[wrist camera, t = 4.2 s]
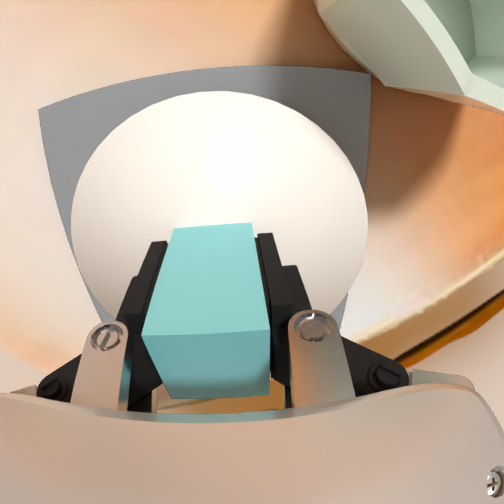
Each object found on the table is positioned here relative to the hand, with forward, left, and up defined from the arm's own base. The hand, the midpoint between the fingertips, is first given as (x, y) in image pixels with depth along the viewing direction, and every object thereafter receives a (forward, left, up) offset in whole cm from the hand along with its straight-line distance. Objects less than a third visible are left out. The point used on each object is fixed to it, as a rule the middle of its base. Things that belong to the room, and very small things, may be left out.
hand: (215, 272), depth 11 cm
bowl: (-10, -12, -4) cm, 16 cm away
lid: (0, 0, -2) cm, 2 cm away
